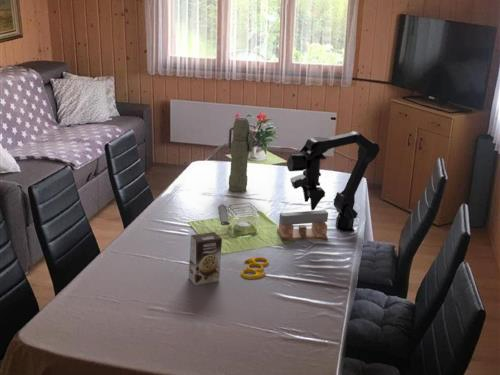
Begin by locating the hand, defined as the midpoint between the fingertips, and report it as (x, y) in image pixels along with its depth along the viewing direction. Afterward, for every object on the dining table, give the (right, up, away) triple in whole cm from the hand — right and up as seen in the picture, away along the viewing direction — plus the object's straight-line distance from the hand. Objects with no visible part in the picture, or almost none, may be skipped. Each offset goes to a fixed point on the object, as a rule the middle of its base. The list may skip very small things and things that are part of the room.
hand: (309, 205), depth 247 cm
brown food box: (-40, -24, -40) cm, 62 cm away
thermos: (-30, +6, +47) cm, 56 cm away
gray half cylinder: (-36, -5, +15) cm, 39 cm away
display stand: (-3, -12, 0) cm, 13 cm away
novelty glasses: (-23, -22, -30) cm, 44 cm away
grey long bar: (-3, -7, -2) cm, 7 cm away
